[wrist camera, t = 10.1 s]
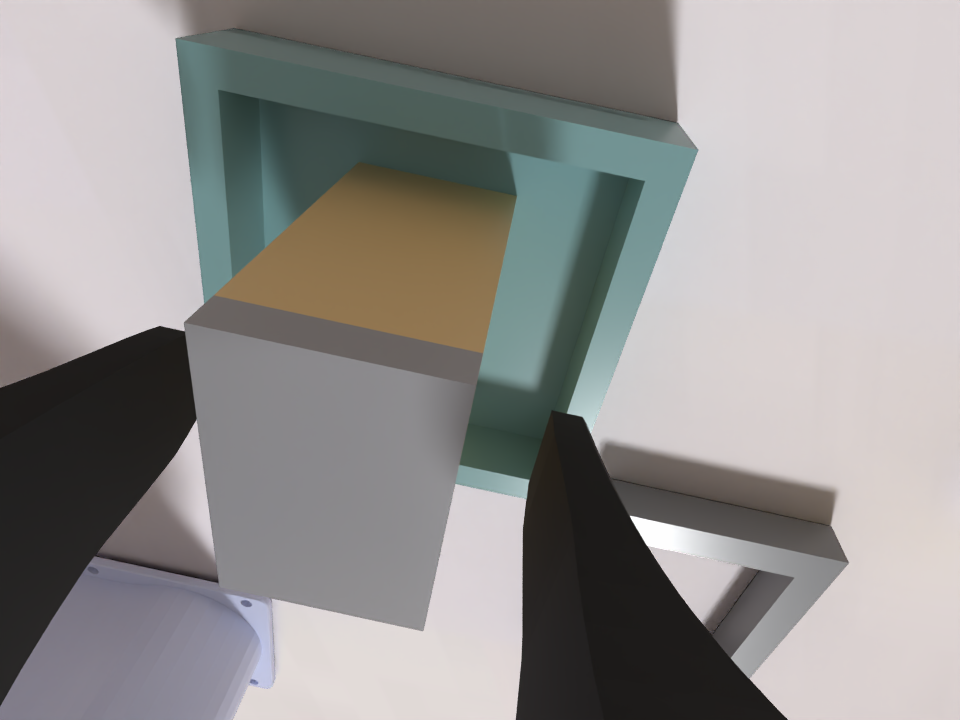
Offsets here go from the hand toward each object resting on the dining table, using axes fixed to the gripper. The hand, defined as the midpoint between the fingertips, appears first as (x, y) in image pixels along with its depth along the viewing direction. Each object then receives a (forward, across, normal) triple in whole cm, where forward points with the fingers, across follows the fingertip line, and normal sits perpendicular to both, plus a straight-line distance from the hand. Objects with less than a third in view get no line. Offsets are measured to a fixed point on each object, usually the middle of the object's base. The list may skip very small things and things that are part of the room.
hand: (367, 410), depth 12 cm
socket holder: (+6, -11, +11) cm, 17 cm away
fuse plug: (+6, 0, 0) cm, 6 cm away
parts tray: (+6, 0, 0) cm, 6 cm away
